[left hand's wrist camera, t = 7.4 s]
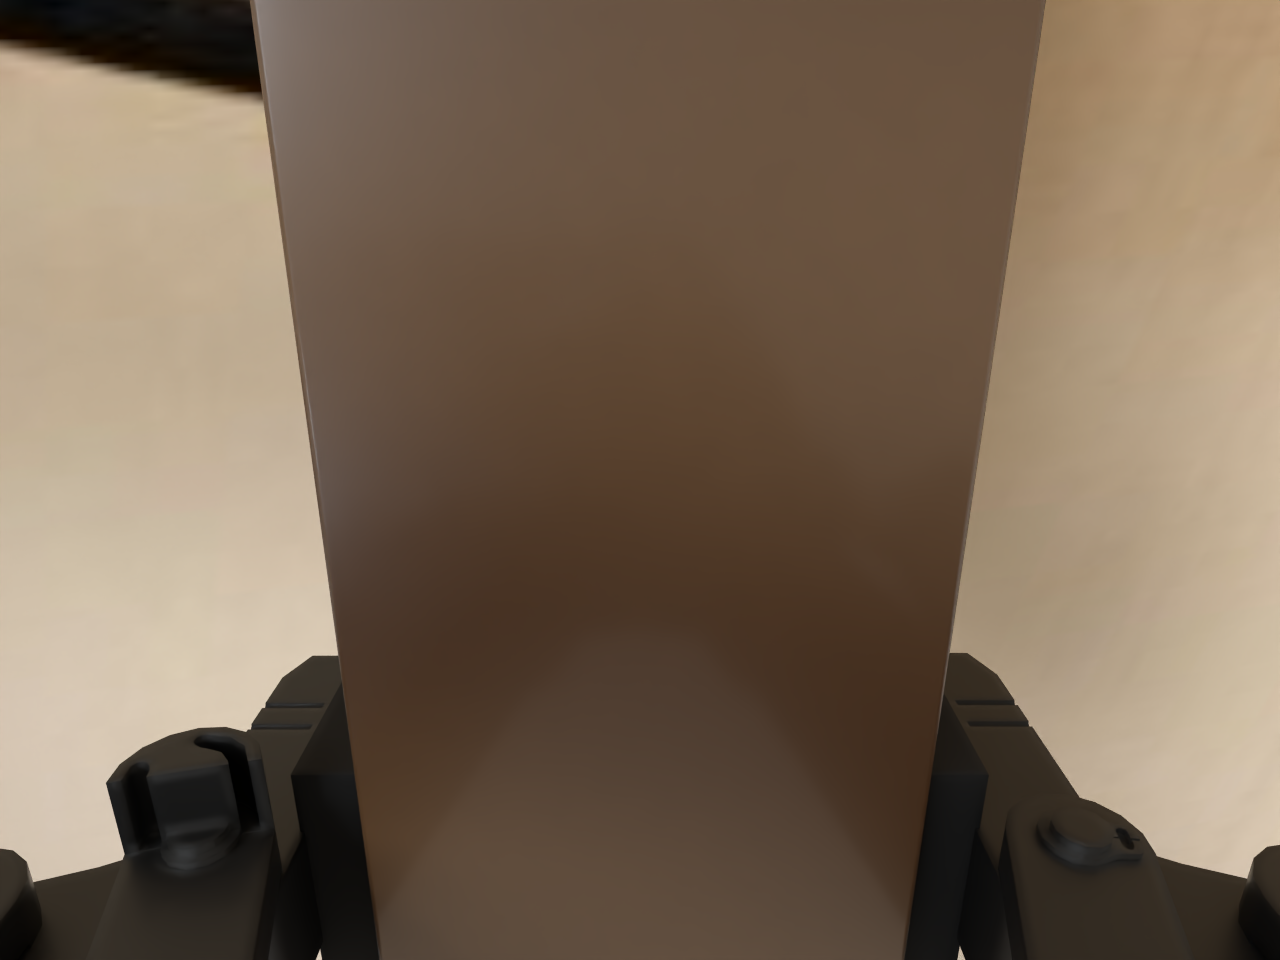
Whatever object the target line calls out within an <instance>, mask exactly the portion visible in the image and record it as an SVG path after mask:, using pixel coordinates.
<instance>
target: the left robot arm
mask: <svg viewBox="0 0 1280 960" xmlns="http://www.w3.org/2000/svg"><path fill="white" fill-rule="evenodd" d="M106 785H107V789H108V793H109V796H110V800H111V804H112V808H113V811H114V815H115V819H116V823H117V827H118V830H119V834H120V838H121V842H122V846H123V849H124V853H125V855H124V858H123V860H121V861H118V862H115V863H111V864H108V865H105V866H101V867H98V868H93V869H89V870H85V871H80V872H76V873H72V874H67V875H63V876H59V877H54V878H50V879H46V880H41V881H37V882H33V880H32V877H31V874H30V871H29V868H28V865H27V862H26V861H25V860H24V859H23V858H22V857H20V856H19V855H18V854H17V853H15V852H14V851H12V850H6V849H0V960H316V958H317V955H318V953H319V950H321V956H322V960H380V959H379V952H378V944H377V937H376V930H375V922H374V915H373V907H372V900H371V893H370V885H369V878H368V871H367V863H366V856H365V848H364V841H363V834H362V826H361V819H360V811H359V804H358V797H357V789H356V782H355V774H354V767H353V760H352V752H351V745H350V737H349V730H348V723H347V715H346V708H345V700H344V693H343V686H342V678H341V671H340V663H339V656H312V657H310V658H309V659H308V660H306V661H305V662H303V663H302V664H301V665H299V666H298V667H297V668H295V669H294V670H292V671H291V672H290V673H288V674H287V675H286V676H284V677H283V678H282V679H281V681H280V682H279V684H278V685H277V687H276V688H275V690H274V691H273V693H272V694H271V696H270V697H269V699H268V700H267V702H266V706H265V708H262V709H261V711H260V712H259V714H258V715H257V717H256V718H255V720H254V721H253V723H252V727H251V730H247V732H244V731H240V730H236V729H232V728H228V727H214V728H197V729H193V730H189V731H185V732H181V733H177V734H173V735H169V736H167V737H165V738H163V739H161V740H158V741H156V742H154V743H152V744H150V745H147V746H145V747H143V748H141V749H140V750H139V751H137V752H136V753H135V754H133V755H132V756H131V757H129V758H128V759H126V760H125V761H124V762H122V763H121V764H120V765H119V766H118V767H117V769H116V770H115V772H114V773H113V774H112V776H111V777H110V778H109V780H108V781H107V782H106ZM959 947H961V950H962V952H963V955H964V957H965V960H1280V845H1276V846H1270V847H1266V848H1265V849H1264V850H1263V851H1262V852H1260V853H1259V854H1258V855H1257V856H1256V857H1254V859H1253V862H1252V865H1251V869H1250V872H1249V875H1248V878H1247V879H1246V878H1241V877H1237V876H1233V875H1228V874H1224V873H1220V872H1215V871H1211V870H1207V869H1202V868H1198V867H1193V866H1189V865H1185V864H1181V863H1177V862H1174V861H1171V860H1167V859H1164V858H1161V857H1157V856H1156V854H1155V852H1154V850H1153V849H1152V847H1151V846H1150V844H1149V843H1148V841H1147V840H1146V838H1145V836H1144V835H1143V833H1141V832H1140V831H1139V830H1138V829H1137V828H1135V827H1134V826H1133V825H1132V824H1131V823H1129V822H1128V821H1127V820H1126V819H1125V818H1123V817H1122V816H1121V815H1119V814H1117V813H1115V812H1113V811H1111V810H1109V809H1107V808H1105V807H1103V806H1101V805H1099V804H1097V803H1095V802H1093V801H1089V800H1085V799H1082V798H1080V797H1079V796H1078V794H1077V793H1076V791H1075V790H1074V788H1073V787H1072V785H1071V784H1070V783H1069V781H1068V780H1067V778H1066V777H1065V775H1064V774H1063V772H1062V771H1061V769H1060V768H1059V766H1058V765H1057V763H1056V762H1055V760H1054V759H1053V757H1052V756H1051V754H1050V753H1049V751H1048V750H1047V748H1046V747H1045V745H1044V744H1043V742H1042V741H1041V739H1040V738H1039V736H1038V735H1037V733H1036V732H1035V730H1034V729H1033V727H1029V724H1028V720H1027V718H1026V717H1025V715H1024V714H1023V712H1022V711H1021V709H1020V708H1019V706H1018V705H1015V704H1014V699H1013V697H1012V696H1011V694H1010V693H1009V691H1008V690H1007V688H1006V687H1005V685H1004V684H1003V683H1002V681H1001V680H1000V678H999V677H998V675H997V674H995V673H994V672H993V671H991V670H990V669H989V668H987V667H986V666H984V665H983V664H982V663H980V662H979V661H977V660H976V659H975V658H973V657H972V656H971V655H969V654H968V653H949V659H948V666H947V673H946V680H945V686H944V693H943V700H942V707H941V713H940V720H939V727H938V734H937V741H936V747H935V754H934V761H933V768H932V774H931V781H930V788H929V795H928V802H927V808H926V815H925V822H924V829H923V835H922V842H921V849H920V856H919V863H918V869H917V876H916V883H915V890H914V897H913V903H912V910H911V917H910V924H909V930H908V937H907V944H906V951H905V958H904V960H957V958H958V952H959Z"/></svg>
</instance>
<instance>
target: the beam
mask: <svg viewBox="0 0 1280 960" xmlns="http://www.w3.org/2000/svg"><path fill="white" fill-rule="evenodd" d="M1045 1H1046V0H250V5H251V13H252V20H253V28H254V35H255V42H256V50H257V57H258V64H259V72H260V79H261V87H262V94H263V101H264V109H265V116H266V124H267V131H268V138H269V146H270V153H271V161H272V168H273V175H274V183H275V190H276V198H277V205H278V212H279V220H280V227H281V235H282V242H283V249H284V257H285V264H286V272H287V279H288V286H289V294H290V301H291V309H292V316H293V323H294V331H295V338H296V345H297V353H298V360H299V368H300V375H301V382H302V390H303V397H304V405H305V412H306V419H307V427H308V434H309V442H310V449H311V456H312V464H313V471H314V479H315V486H316V493H317V501H318V508H319V516H320V523H321V530H322V538H323V545H324V553H325V560H326V567H327V575H328V582H329V590H330V597H331V604H332V612H333V619H334V626H335V634H336V641H337V649H338V656H339V663H340V671H341V678H342V686H343V693H344V700H345V708H346V715H347V723H348V730H349V737H350V745H351V752H352V760H353V767H354V774H355V782H356V789H357V797H358V804H359V811H360V819H361V826H362V834H363V841H364V848H365V856H366V863H367V871H368V878H369V885H370V893H371V900H372V907H373V915H374V922H375V930H376V937H377V944H378V952H379V959H380V960H904V958H905V951H906V944H907V937H908V930H909V924H910V917H911V910H912V903H913V897H914V890H915V883H916V876H917V869H918V863H919V856H920V849H921V842H922V835H923V829H924V822H925V815H926V808H927V802H928V795H929V788H930V781H931V774H932V768H933V761H934V754H935V747H936V741H937V734H938V727H939V720H940V713H941V707H942V700H943V693H944V686H945V680H946V673H947V666H948V659H949V652H950V646H951V639H952V632H953V625H954V618H955V612H956V605H957V598H958V591H959V585H960V578H961V571H962V564H963V557H964V551H965V544H966V537H967V530H968V524H969V517H970V510H971V503H972V496H973V490H974V483H975V476H976V469H977V463H978V456H979V449H980V442H981V435H982V429H983V422H984V415H985V408H986V401H987V395H988V388H989V381H990V374H991V368H992V361H993V354H994V347H995V340H996V334H997V327H998V320H999V313H1000V307H1001V300H1002V293H1003V286H1004V279H1005V273H1006V266H1007V259H1008V252H1009V246H1010V239H1011V232H1012V225H1013V218H1014V212H1015V205H1016V198H1017V191H1018V184H1019V178H1020V171H1021V164H1022V157H1023V151H1024V144H1025V137H1026V130H1027V123H1028V117H1029V110H1030V103H1031V96H1032V90H1033V83H1034V76H1035V69H1036V62H1037V56H1038V49H1039V42H1040V35H1041V29H1042V22H1043V15H1044V8H1045Z"/></svg>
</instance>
